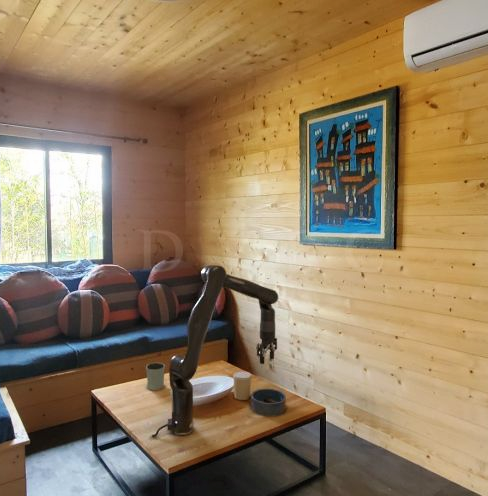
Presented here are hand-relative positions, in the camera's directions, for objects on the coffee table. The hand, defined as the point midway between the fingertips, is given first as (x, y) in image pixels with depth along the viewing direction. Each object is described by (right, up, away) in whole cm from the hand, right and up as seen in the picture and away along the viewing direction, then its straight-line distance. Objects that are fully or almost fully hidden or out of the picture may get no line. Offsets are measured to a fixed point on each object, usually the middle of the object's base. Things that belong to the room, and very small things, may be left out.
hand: (267, 361), depth 208 cm
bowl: (+1, -23, 0) cm, 23 cm away
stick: (+2, -20, +1) cm, 20 cm away
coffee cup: (-12, -22, +11) cm, 27 cm away
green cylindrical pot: (-58, -20, +22) cm, 65 cm away
